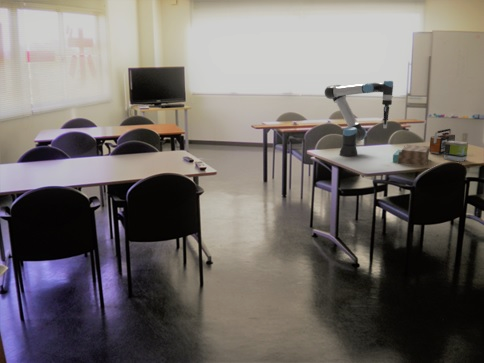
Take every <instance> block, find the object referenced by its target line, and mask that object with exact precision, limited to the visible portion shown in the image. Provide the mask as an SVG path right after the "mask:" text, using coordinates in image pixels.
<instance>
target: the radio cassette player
mask: <svg viewBox="0 0 484 363" xmlns="http://www.w3.org/2000/svg"><path fill="white" fill-rule="evenodd" d="M440 133H441V134H440ZM455 139H456V134H452V128H447V129H440V130H436V131H435V132H434V135H433V136H431V137H430V140H429V146H430V147H429V154H437V155H442V154H444V152H445V143H446V142H448V141H456V140H455Z"/></svg>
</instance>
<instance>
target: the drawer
mask: <svg viewBox="0 0 484 363" xmlns="http://www.w3.org/2000/svg"><path fill="white" fill-rule="evenodd" d="M399 151H400V152H402V149H397V150H396V151H395V152H394V153H393V155H392V162H393V163H398V157H399Z"/></svg>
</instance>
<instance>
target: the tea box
mask: <svg viewBox="0 0 484 363" xmlns="http://www.w3.org/2000/svg"><path fill="white" fill-rule="evenodd" d="M468 147H469V143H468V142H466V141H465V142H464V141H456V140H455V141H448V142H446V143H445V152H444V153H443V154H444V156H443V159H444V160H450V161H457V162H464V160H465V161H467V158H468V157H467V156H468Z"/></svg>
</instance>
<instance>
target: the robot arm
mask: <svg viewBox="0 0 484 363" xmlns="http://www.w3.org/2000/svg"><path fill="white" fill-rule="evenodd" d="M393 90H394V81H393V80H384V81H383V82H370V83H362V84H353V85H346V86H344V85H341V84H336V85H329V86H326V88H325V89H324V97H326V98H327V99H330V100H332V101H333V102H334V104H336V105H337V107H338V109H339V111H340V113H341V115H342V117H343V119H344V121H345V123H346V125H347V127H345V128H343V131H342V141H341V143H342V145H341V147H340V150H339V155H340V156H342V155H343V157H356V156H358V154H359V152H358V149H357V142H359V141H363V140H364V139H365V138H366V136H367V131H366V128H365V127H363V126H362V125H361V123H360V122H358V121H357V119H356V117H355V115H354V113H353V111H352V109H351V107H350V106H349V103H348V101H347V96H351V95H361V94H371V93H382V105H384V106H383V119H382V121H383V125H382V126H383V127H382V128H383V129H387V128H388V121H389V114H390V113H389V112H390V106H391V105H393V104H392V103H393V101H392V100H393V97H394V96H393V92H394V91H393Z"/></svg>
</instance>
